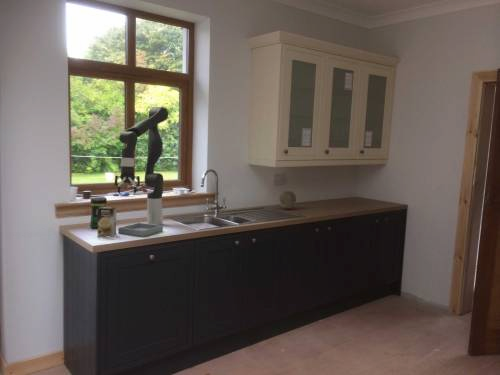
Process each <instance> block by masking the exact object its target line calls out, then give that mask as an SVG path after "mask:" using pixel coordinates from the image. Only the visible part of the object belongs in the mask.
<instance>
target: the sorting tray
mask: <svg viewBox="0 0 500 375" xmlns="http://www.w3.org/2000/svg"><path fill="white" fill-rule="evenodd" d="M163 228H164V225H162V224H161V225H153V224H147V223H145V222H144V223H143V222H136V223H132V224H128V225H124V226H120V227H118V228H117V230H118V231H117V232H118V234H119V235H124V236H125V235H126V236H131V237H132V236H133V237H140V238H146V237H149V236H152V235H157V234H159V233H162V232H164V231H163V230H164V229H163Z"/></svg>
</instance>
